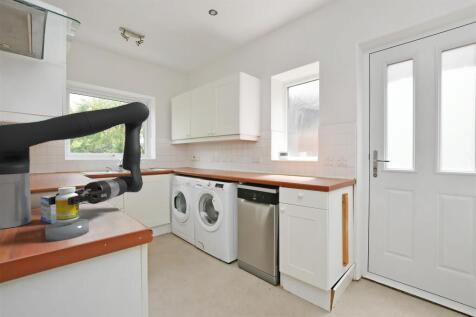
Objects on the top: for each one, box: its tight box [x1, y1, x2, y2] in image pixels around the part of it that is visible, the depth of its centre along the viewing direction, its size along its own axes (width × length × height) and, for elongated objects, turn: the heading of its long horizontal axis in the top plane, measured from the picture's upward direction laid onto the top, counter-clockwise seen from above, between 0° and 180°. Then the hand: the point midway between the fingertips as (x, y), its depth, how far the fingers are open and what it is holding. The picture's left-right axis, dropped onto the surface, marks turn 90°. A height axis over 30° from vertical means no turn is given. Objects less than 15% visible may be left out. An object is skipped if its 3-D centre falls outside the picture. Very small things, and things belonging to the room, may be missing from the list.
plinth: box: [44, 218, 90, 242], centre depth 64 cm, size 10×10×3 cm
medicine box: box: [40, 194, 57, 224], centre depth 78 cm, size 8×4×9 cm, turn 62°
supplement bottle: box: [55, 185, 80, 222], centre depth 64 cm, size 5×5×10 cm
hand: (59, 201), depth 62 cm, fingers closed on supplement bottle, 5 cm apart
